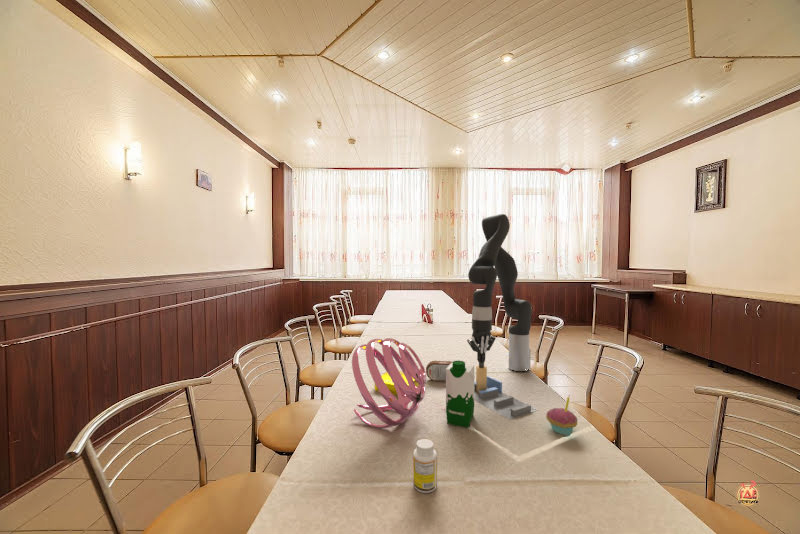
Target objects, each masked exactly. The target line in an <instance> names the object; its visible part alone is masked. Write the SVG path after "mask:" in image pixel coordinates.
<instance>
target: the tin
mask: <svg viewBox="0 0 800 534" xmlns="http://www.w3.org/2000/svg"><path fill="white" fill-rule="evenodd" d="M452 362H453V361H449V360H447V361H446V360H445V361H444V360H432V361H430V362H429V363H428V364H427V365H426V367H425V373H426V377H427V378H428V379H429V380H431V381H434V382H446V368H447V367H448V366H449V365H450V364H451V363H452Z"/></svg>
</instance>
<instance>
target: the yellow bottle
mask: <svg viewBox="0 0 800 534" xmlns="http://www.w3.org/2000/svg"><path fill="white" fill-rule="evenodd" d="M475 369H476V370H475V371H476V372H475V375H476V376H475V380H476V381H475V382H476V393H477V394H479V391H482V390H485V389H487V376H488V368H487V366H486V365H485V362H484V363H480V362H478V365H476V366H475Z"/></svg>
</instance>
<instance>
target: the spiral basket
mask: <svg viewBox="0 0 800 534" xmlns="http://www.w3.org/2000/svg"><path fill="white" fill-rule="evenodd" d="M375 343H377V344H379V345H381V349H382V352H380V351H379V350H378V349H377V348H376V347H374V345H375ZM391 343H393V344H395V345H396V347H398V351H399V353H398V352H397V350H395V349H394V347H393V346H392V345H391ZM407 349H408V350H407ZM360 350H363V351H365V357H366V358H365V359H366V364H367V367H368V370H369V373H370V375H371V377H372V381H373V382H374V385H375V384H376V386H377V388H378V390H379V391H380V392H379V393H380V395H381V396H382V398H383V399H384V400H385V401H386V403H387V404H384V405H378V404H377V402H376V401H375V399H374V398H373V397H372V395H371V393H370V392H369V390H368V387H367V385H366V383H365V380H364V378H363V375H362V373H361V372H362V371H361V368H360V362H359V353H360ZM411 354H412V355H413V356H412V355H411ZM413 357H414V358H415V359H414V358H413ZM375 358H376V359H375ZM376 360H377V361H378V362H379V363H380V364H381V366H382V367H383V368H384V370H385V372H387V373H388V374H389V376H390V378H391V380H392V382H393V384H394V386H395V389H396V391H397V394H398V395H397V398H398V399H396V397H395V395H393V394H392V393H391V392H390V390H389V389H388V387H387V386H386V384H385V382H384V380H383V379H382V377H381V375H382V374H381V373H380V370H379V368H378V365H377V362H376ZM415 360H416V361H417V362H416V361H415ZM395 361H396V363H397V365H398V366H399V368H400V370H401V372H403V373H404V375H405V377H406V380H407V382H408V384H409V385H408V384H407V383H406V382H405V380H404V379H403V377H402V376H401V374H400V372H399V371H400V370H399V368H398V367H397V365H396V363H395ZM351 369H352V372H353V373H352V374H353V377H354V381H355V383H356V387H357V389H358V390H359V393H360V395H361V396H362V398H363V400H364V401H365V403H366V405H363V404H359V403H358V404H357V405H356V406H357V407H359V408H362V409H364V410H367V411H371V412H372V413H373V414H374V415H375V417H377V419H379V420H380V421H381V422H382V423H385V424H377V423H376V424H375V423H373V422H370V421H369V420H367V419H365V418H364V417H363V416H362V415H361V414H360V413H359V411H358V410H357V409H356V408H354V409H353V412H354V413H355V415H356V417H357V418H358V419H359V420H361V422H363V424H366V425H367V426H369V427H372V428H376V429H388V428H393V427H397V426H400V425H401V424H403V423H404V422H405V421H406V420H407V419H409V418H411V417H412V416H413V415H415V414H416V412H417V411H418V409H419V404H420V403H421V402H422V401H423V400H424V399H425V395H426V384H427V374H426V368H425V367H424V365H423V363H422V360H421V359H420V357H419V356H418V355H417V353H416V352H415V351H414V349H413V348H412V347H411V346H410V345H408V344H407V343H404V342H400V341H399V340H397V339H395V338H391V337H389V338H388V337H387V338H384V339H381V338H373V339H371V340H369V341H368V342H367V343H365V344H364V343H363V344H361V345H359V346H358V347H356V348H355V349H354V351H353V353H352V356H351ZM412 377H413V378H412ZM413 379H414V380H415V381H416V382H417V383H418V384H419V385H418V387H416V386H415V383H414V381H413ZM411 402H412V404H411V406H409V408H408V405H409V403H411ZM391 410H392V411H395V412H396V413H397V414H398V415H400V416H399V418H398V419H392V418H391V417H390V416H388V415H387V414H386V413H385V412H386V411H391Z"/></svg>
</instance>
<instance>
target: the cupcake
mask: <svg viewBox="0 0 800 534" xmlns="http://www.w3.org/2000/svg"><path fill="white" fill-rule="evenodd" d="M570 395H571V394H569V395H568V397H566V398H567V399H566V402H565V407H564V408H563V407H559V408H558V407H557V408H556V407H554V408H552V409H550V410H548V411H547V412H546V414H545V415H546V416H545V418H546V420H547V421H548V422H549V423H550V425H551V429H552V430H553V431H554V432H555V433H557V434H560V435H563V436H562V437H563V438H566V437H567V438H568V437H570V436H571V433H572V431H573V429H574V428H576V427H577V425H578V417H577V416H576V415H575V414H574V413H573V412H571V411H570V410H569V404H570Z"/></svg>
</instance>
